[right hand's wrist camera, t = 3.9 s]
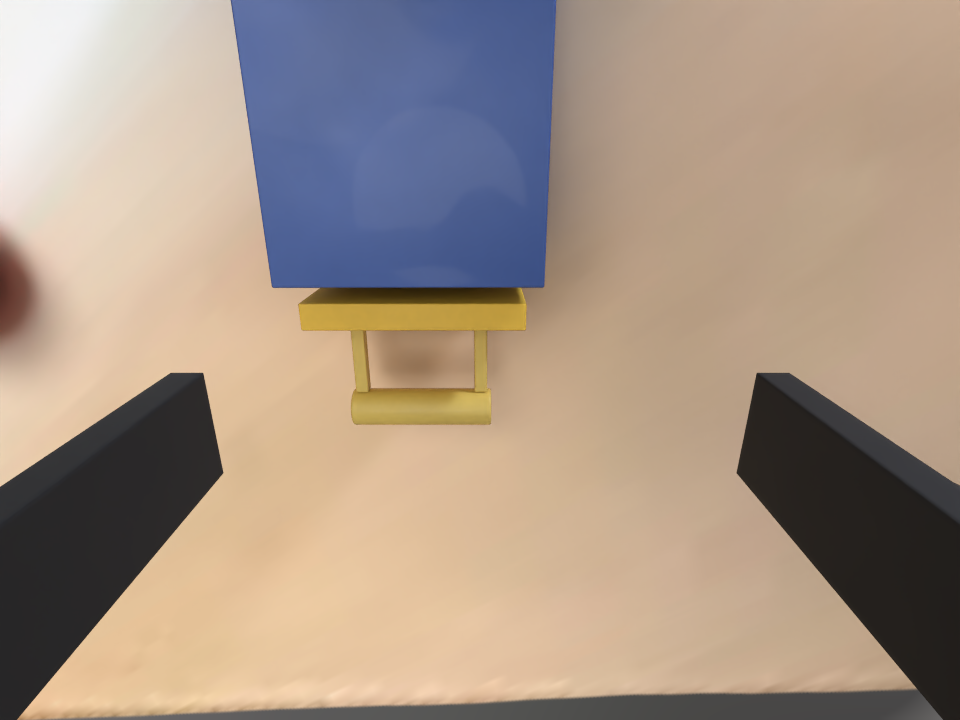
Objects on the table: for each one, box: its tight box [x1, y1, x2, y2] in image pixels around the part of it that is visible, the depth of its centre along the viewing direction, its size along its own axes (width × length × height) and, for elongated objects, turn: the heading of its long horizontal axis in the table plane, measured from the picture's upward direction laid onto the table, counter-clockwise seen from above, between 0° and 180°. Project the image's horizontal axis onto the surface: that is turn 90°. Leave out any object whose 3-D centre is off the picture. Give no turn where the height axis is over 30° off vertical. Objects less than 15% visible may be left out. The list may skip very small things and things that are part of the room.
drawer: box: [299, 288, 527, 425], centre depth 23 cm, size 25×10×6 cm, turn 0°
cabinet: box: [231, 0, 556, 288], centre depth 21 cm, size 21×11×8 cm, turn 0°
